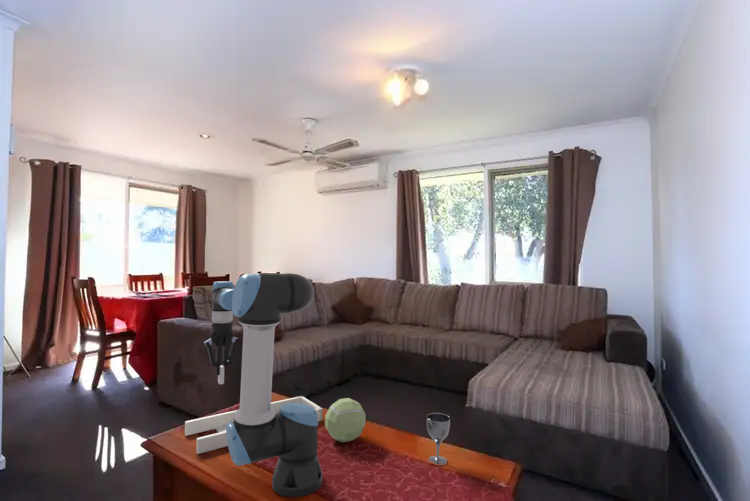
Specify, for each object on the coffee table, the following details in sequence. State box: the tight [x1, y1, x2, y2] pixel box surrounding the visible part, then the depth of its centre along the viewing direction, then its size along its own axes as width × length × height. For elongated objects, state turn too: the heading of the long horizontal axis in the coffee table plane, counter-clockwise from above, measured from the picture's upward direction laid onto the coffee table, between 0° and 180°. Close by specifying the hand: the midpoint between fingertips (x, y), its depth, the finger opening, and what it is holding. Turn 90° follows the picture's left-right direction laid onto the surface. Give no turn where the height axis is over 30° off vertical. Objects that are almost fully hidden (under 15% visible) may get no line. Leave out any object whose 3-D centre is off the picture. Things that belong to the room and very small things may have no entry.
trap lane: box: [184, 395, 324, 455], centre depth 163 cm, size 19×50×7 cm, turn 128°
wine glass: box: [426, 412, 451, 465], centre depth 138 cm, size 8×8×15 cm
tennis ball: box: [324, 397, 367, 443], centre depth 153 cm, size 15×15×15 cm
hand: (220, 383), depth 154 cm, fingers closed
